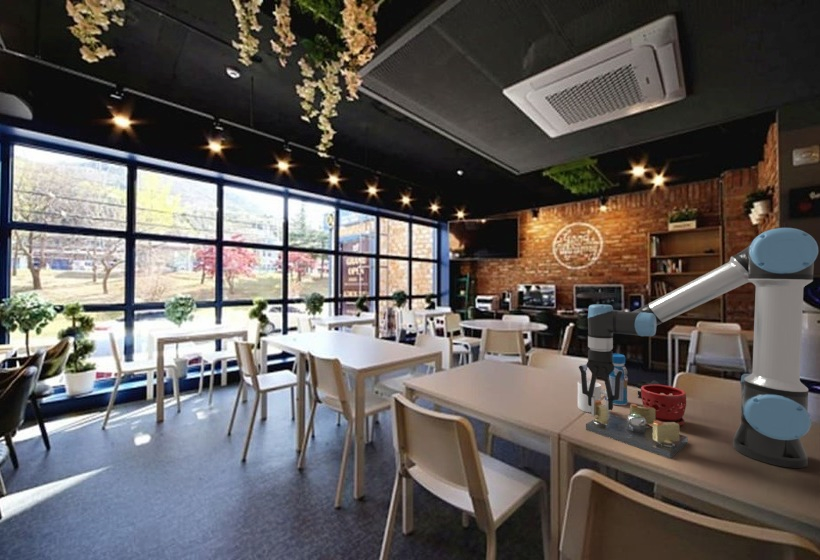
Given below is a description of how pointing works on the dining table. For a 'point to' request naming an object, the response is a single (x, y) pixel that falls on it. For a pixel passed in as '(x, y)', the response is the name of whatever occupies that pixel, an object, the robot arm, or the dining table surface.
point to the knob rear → (644, 412)
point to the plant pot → (665, 402)
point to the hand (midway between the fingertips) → (600, 416)
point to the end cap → (646, 384)
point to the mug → (584, 398)
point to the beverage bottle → (618, 363)
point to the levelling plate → (636, 434)
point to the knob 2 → (665, 432)
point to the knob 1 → (600, 413)
